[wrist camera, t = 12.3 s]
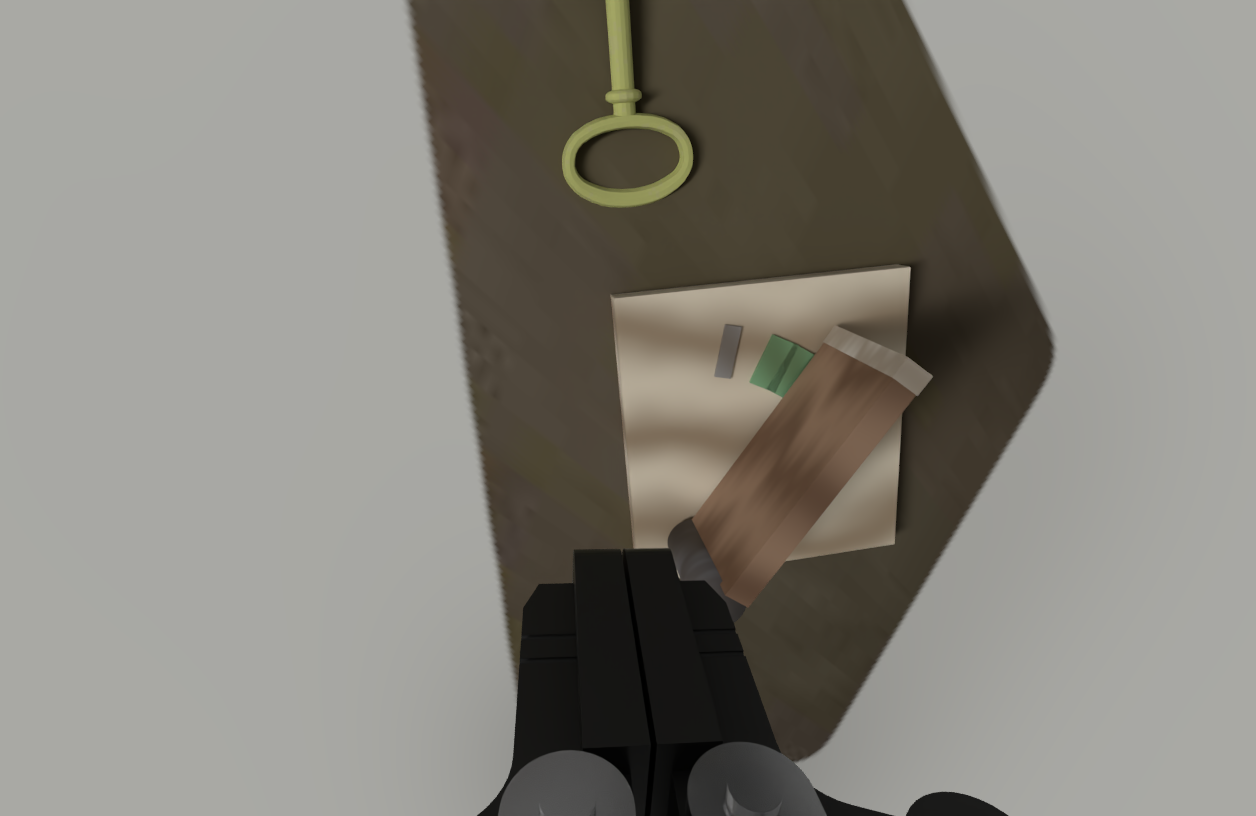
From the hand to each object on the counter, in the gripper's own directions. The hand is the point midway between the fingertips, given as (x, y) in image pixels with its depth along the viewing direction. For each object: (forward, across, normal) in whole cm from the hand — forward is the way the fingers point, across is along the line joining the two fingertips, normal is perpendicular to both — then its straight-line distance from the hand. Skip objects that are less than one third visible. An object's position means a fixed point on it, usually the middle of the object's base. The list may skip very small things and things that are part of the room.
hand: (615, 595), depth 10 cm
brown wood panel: (+28, -12, +11) cm, 32 cm away
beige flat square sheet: (+30, -12, +10) cm, 34 cm away
